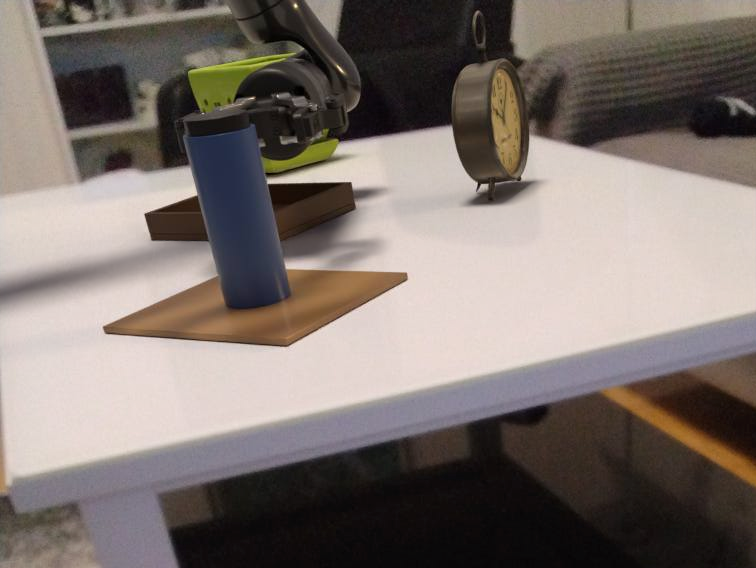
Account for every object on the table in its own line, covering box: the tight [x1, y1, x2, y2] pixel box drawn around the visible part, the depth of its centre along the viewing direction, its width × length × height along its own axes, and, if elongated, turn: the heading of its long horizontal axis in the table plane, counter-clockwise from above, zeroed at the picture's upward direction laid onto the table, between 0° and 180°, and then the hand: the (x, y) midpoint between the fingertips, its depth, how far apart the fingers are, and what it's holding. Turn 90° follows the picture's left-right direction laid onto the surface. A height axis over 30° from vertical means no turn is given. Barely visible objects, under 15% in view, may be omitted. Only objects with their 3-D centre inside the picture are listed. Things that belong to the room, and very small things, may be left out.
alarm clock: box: [450, 10, 530, 202], centre depth 102 cm, size 11×5×16 cm, turn 159°
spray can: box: [183, 109, 291, 309], centre depth 76 cm, size 5×5×13 cm
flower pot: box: [187, 52, 339, 174], centre depth 134 cm, size 14×14×13 cm
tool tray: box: [143, 181, 357, 242], centre depth 106 cm, size 17×13×3 cm
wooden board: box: [102, 268, 409, 347], centre depth 80 cm, size 18×16×1 cm
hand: (247, 136), depth 82 cm, fingers open, 8 cm apart
